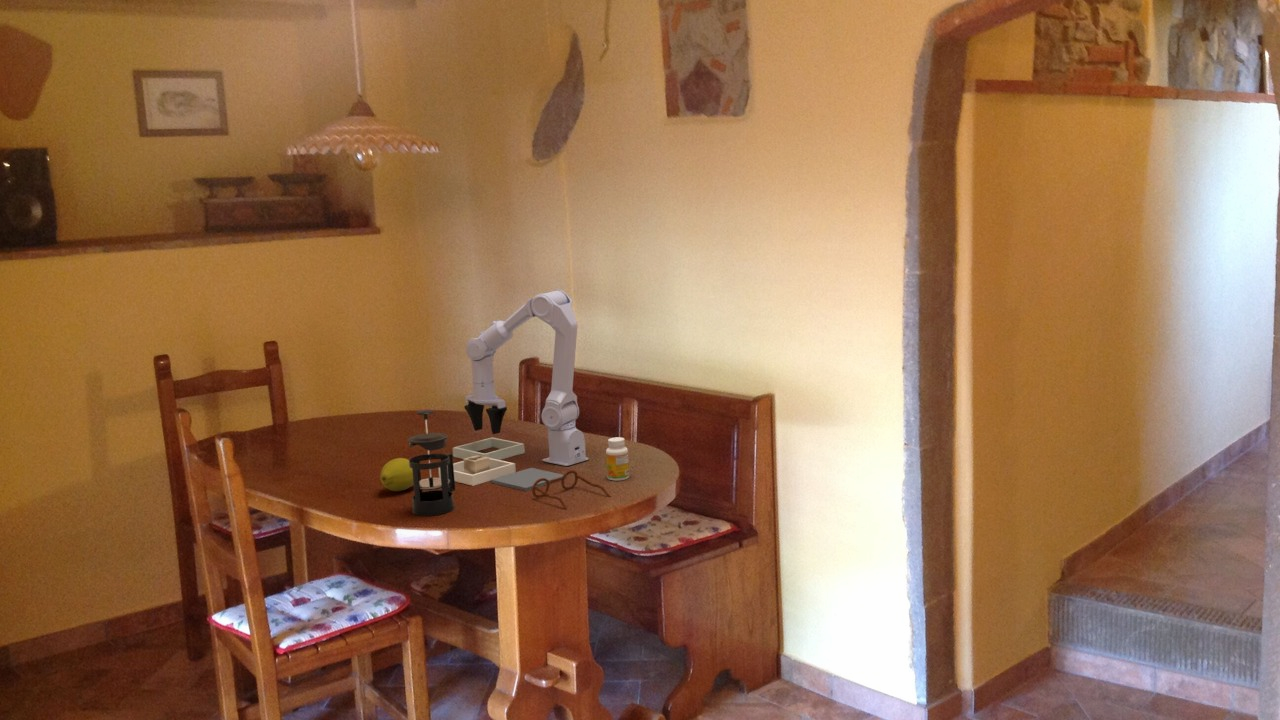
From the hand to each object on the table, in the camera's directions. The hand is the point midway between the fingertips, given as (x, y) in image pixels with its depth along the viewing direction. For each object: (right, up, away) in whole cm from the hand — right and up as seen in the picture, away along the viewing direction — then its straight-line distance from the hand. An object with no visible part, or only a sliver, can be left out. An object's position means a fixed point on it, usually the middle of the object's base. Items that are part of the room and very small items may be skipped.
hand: (487, 431), depth 299 cm
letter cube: (0, -10, -19) cm, 22 cm away
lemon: (-17, -13, -30) cm, 37 cm away
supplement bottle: (+36, -10, -28) cm, 47 cm away
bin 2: (0, -10, -19) cm, 21 cm away
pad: (+14, -10, -27) cm, 32 cm away
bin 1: (0, -6, +1) cm, 6 cm away
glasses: (+25, -13, -43) cm, 51 cm away
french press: (-5, -15, -46) cm, 49 cm away
